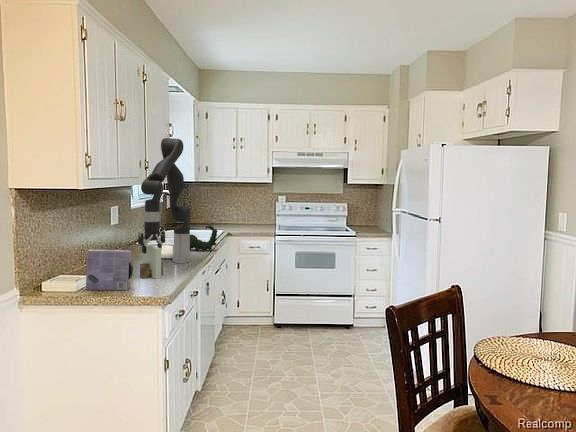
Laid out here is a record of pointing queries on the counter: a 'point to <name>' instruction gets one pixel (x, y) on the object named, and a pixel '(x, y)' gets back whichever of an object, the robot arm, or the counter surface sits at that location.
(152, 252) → the pale green plank
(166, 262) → the counter surface
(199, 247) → the toy figurine
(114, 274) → the cake pan box
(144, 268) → the walnut u-shaped block
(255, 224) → the counter surface
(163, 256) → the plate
